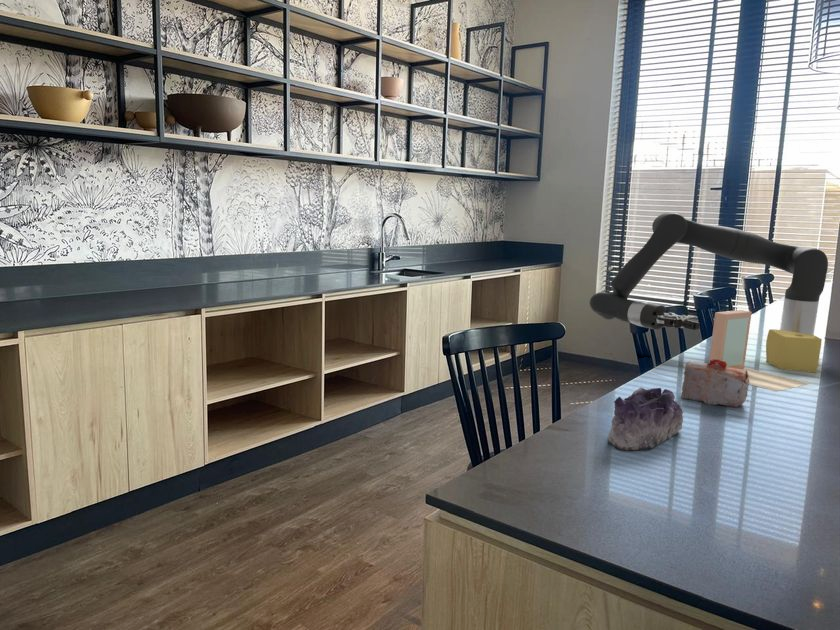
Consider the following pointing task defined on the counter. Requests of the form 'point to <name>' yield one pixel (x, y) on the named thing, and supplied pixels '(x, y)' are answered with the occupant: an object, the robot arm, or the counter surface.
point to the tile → (730, 337)
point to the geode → (644, 420)
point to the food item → (715, 383)
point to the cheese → (793, 350)
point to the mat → (771, 381)
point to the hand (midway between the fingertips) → (697, 326)
